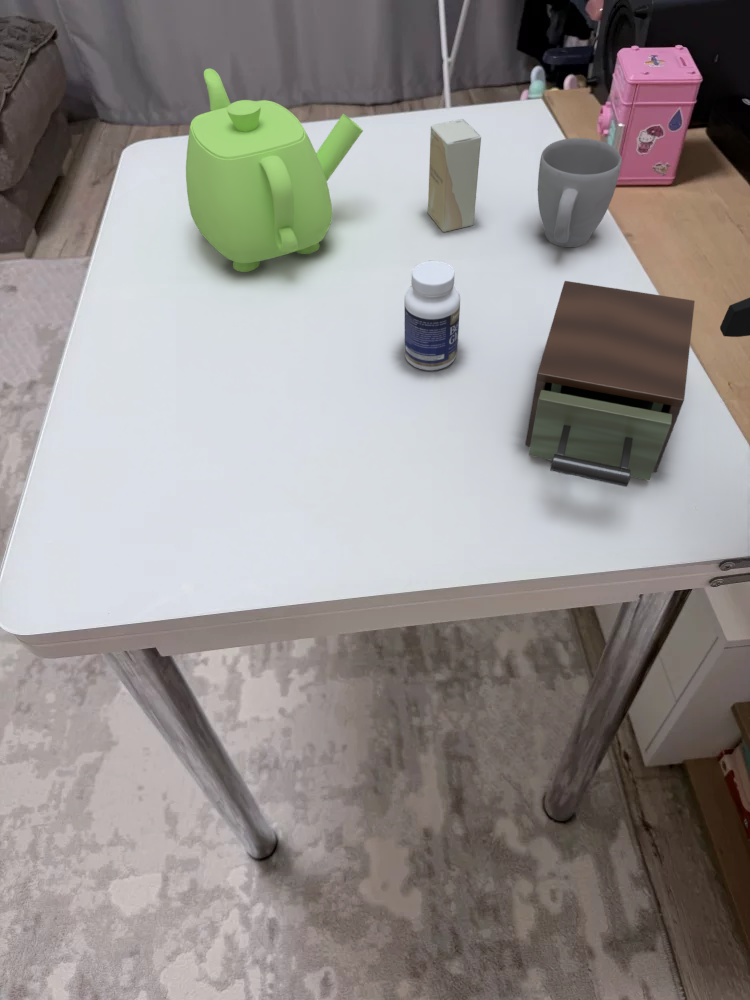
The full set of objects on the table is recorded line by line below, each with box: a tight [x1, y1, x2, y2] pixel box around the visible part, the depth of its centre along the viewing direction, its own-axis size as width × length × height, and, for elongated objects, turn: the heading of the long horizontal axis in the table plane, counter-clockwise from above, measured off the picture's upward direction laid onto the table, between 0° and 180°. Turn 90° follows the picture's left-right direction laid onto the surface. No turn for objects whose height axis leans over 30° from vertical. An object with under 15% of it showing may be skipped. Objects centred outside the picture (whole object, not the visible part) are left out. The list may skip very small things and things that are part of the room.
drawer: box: [528, 383, 672, 488], centre depth 64 cm, size 17×10×7 cm, turn 161°
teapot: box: [185, 67, 364, 273], centre depth 87 cm, size 25×22×16 cm
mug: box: [537, 137, 623, 248], centre depth 85 cm, size 12×9×10 cm
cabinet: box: [524, 280, 695, 473], centre depth 67 cm, size 14×12×9 cm
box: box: [427, 118, 482, 233], centre depth 88 cm, size 5×4×11 cm
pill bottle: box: [403, 260, 461, 371], centre depth 72 cm, size 5×5×10 cm
